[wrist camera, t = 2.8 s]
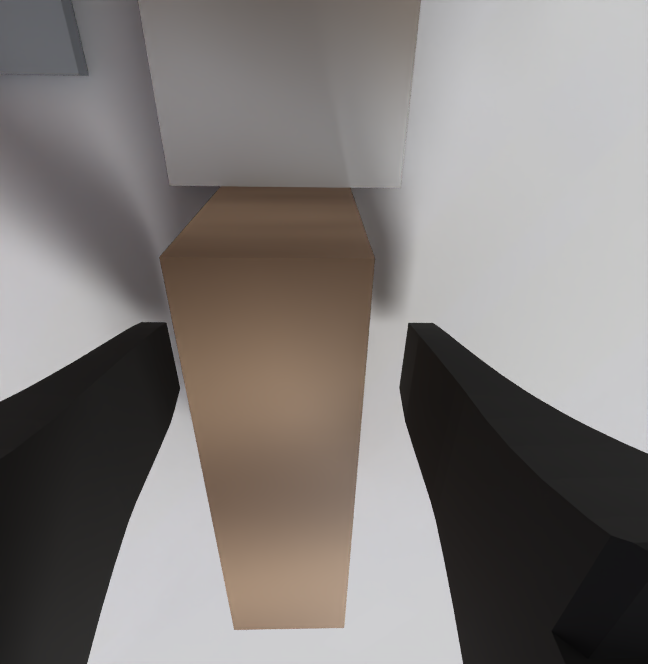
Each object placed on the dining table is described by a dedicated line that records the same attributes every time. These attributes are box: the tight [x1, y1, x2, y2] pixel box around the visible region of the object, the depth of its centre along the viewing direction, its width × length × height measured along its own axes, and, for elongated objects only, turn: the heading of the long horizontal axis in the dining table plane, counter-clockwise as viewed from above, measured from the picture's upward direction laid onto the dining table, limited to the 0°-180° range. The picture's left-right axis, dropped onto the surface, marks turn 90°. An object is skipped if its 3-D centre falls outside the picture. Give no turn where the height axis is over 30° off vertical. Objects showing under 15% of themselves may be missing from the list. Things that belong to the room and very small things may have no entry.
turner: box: [138, 0, 421, 630], centre depth 8 cm, size 17×5×5 cm, turn 179°
